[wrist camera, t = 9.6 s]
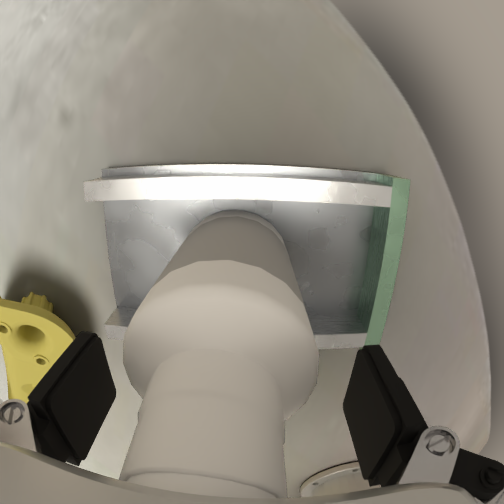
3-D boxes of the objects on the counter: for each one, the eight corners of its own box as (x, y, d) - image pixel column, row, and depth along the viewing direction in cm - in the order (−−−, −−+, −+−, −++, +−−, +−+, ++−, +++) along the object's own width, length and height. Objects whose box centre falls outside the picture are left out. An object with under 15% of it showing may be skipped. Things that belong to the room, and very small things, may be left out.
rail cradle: (362, 326, 23) (377, 352, 19) (125, 319, 23) (109, 344, 19) (386, 174, 19) (410, 179, 16) (108, 168, 19) (83, 172, 15)
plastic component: (79, 434, 26) (2, 421, 20) (76, 385, 31) (8, 372, 26) (87, 324, 19) (-34, 296, 13) (91, 265, 24) (-6, 242, 19)
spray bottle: (308, 256, 20) (429, 549, 3) (240, 323, 21) (224, 593, 4) (229, 185, 18) (62, 504, 1) (164, 263, 20) (12, 519, 3)
